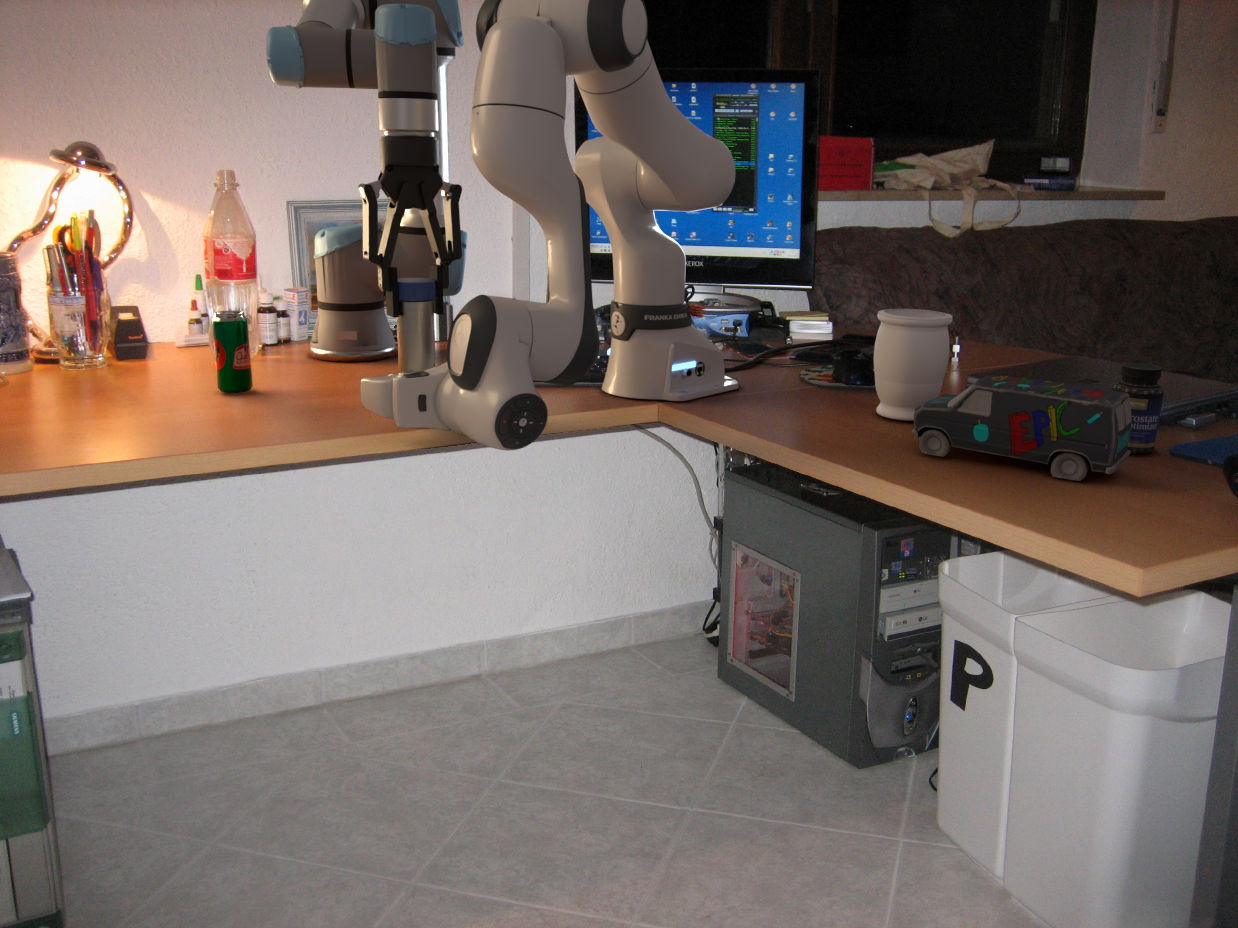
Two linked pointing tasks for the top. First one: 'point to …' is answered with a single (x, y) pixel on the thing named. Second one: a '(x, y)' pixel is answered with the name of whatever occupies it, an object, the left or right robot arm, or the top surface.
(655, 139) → the right robot arm
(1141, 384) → the pill bottle
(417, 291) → the lid
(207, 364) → the top surface
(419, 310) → the metal bottle
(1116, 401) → the toy van
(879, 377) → the jar
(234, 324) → the soda can
